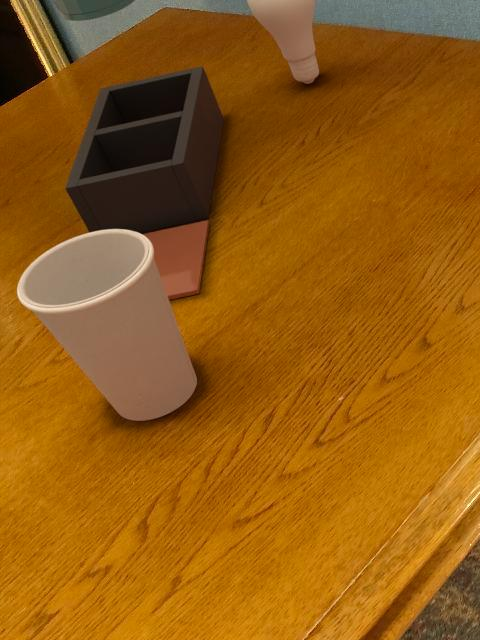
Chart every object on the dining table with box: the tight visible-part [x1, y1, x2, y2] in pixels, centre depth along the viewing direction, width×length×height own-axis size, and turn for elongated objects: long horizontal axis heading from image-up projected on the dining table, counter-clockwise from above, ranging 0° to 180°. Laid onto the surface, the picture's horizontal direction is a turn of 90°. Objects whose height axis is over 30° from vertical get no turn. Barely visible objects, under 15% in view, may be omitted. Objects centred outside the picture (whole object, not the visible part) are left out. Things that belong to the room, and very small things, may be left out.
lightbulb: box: [246, 0, 320, 85], centre depth 93 cm, size 6×6×11 cm
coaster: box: [141, 219, 211, 301], centre depth 78 cm, size 10×10×1 cm
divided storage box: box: [64, 65, 225, 234], centre depth 87 cm, size 10×18×5 cm, turn 8°
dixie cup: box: [16, 229, 198, 422], centre depth 64 cm, size 8×8×10 cm
